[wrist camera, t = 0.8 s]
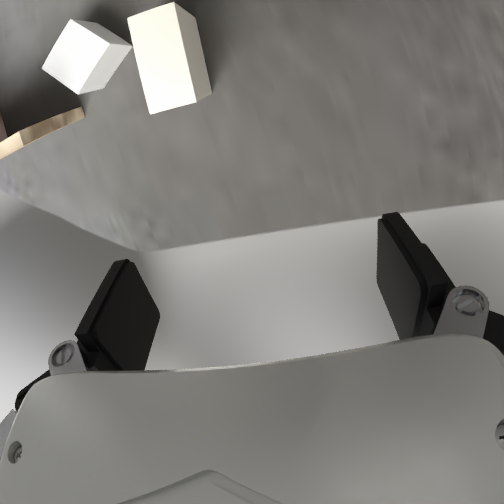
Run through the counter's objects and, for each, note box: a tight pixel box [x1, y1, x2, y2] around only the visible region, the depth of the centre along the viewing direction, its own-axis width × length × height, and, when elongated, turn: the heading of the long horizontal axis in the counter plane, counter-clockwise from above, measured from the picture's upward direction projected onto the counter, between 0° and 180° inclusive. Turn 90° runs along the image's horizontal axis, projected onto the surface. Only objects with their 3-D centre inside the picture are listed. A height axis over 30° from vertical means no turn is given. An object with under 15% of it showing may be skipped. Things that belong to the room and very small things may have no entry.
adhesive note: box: [42, 19, 133, 95], centre depth 24 cm, size 6×6×6 cm
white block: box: [127, 2, 212, 115], centre depth 24 cm, size 9×4×9 cm, turn 11°
